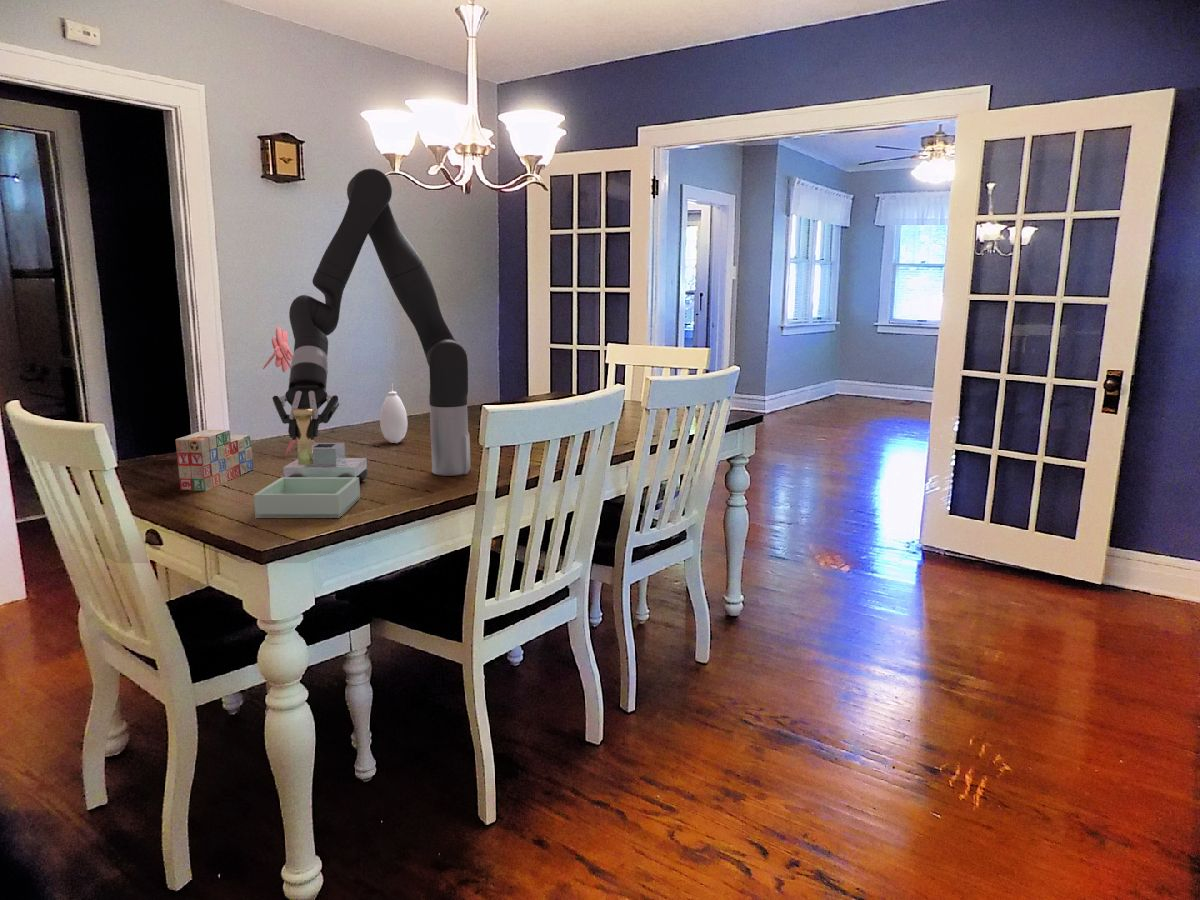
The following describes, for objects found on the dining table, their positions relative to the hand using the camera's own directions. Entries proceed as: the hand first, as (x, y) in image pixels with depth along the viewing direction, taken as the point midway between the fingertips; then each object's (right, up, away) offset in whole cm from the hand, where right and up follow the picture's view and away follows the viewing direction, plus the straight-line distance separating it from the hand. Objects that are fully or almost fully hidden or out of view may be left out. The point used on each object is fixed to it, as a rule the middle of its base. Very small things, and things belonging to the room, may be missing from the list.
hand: (302, 437), depth 166 cm
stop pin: (-1, -5, +3) cm, 6 cm away
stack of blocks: (-31, -10, +30) cm, 44 cm away
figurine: (-27, -3, +63) cm, 68 cm away
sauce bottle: (0, -1, +76) cm, 76 cm away
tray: (0, -15, +5) cm, 16 cm away
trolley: (-3, -11, +23) cm, 26 cm away
